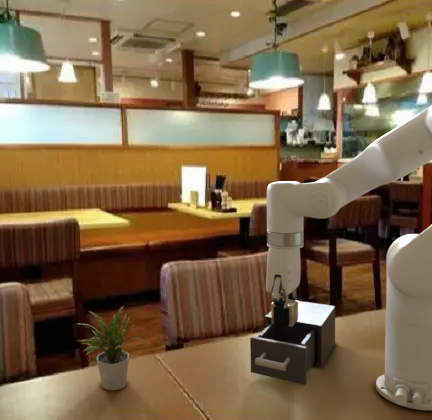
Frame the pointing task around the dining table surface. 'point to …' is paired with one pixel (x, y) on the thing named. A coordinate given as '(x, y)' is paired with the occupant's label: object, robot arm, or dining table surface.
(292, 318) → the cube
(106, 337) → the house plant
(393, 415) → the dining table surface
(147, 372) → the dining table surface
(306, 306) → the drawer cabinet
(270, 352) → the pull-out drawer
